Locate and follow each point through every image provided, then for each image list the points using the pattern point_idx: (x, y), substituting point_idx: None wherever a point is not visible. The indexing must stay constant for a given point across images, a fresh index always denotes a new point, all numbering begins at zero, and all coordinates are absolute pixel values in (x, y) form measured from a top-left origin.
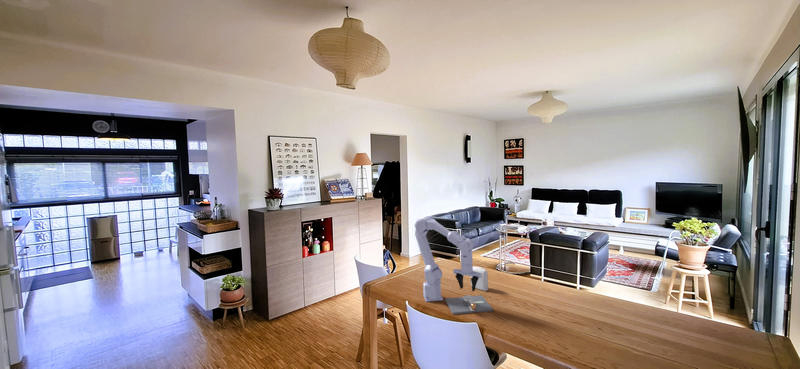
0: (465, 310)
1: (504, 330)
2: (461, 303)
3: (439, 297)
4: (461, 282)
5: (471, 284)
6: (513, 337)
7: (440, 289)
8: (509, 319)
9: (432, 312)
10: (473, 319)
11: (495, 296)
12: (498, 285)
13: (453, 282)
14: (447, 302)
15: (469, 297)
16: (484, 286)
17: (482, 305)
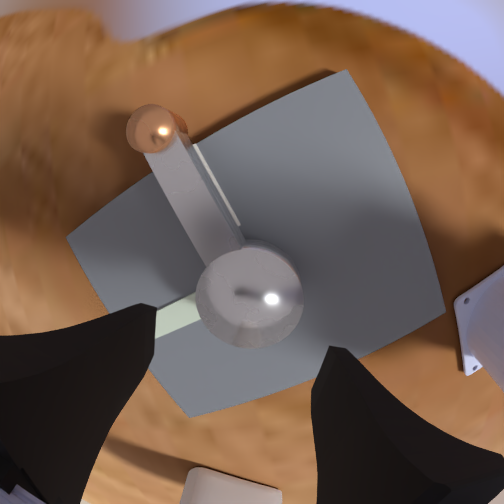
0: (248, 132)
1: (25, 44)
2: (312, 262)
3: (481, 306)
4: (341, 427)
5: (280, 499)
6: (9, 21)
7: (502, 352)
8: (4, 162)
9: (478, 90)
10: (171, 54)
11: (127, 420)
12: (161, 496)
13: None
14: (428, 247)
15: (230, 301)
16: (194, 485)
17: (136, 273)
